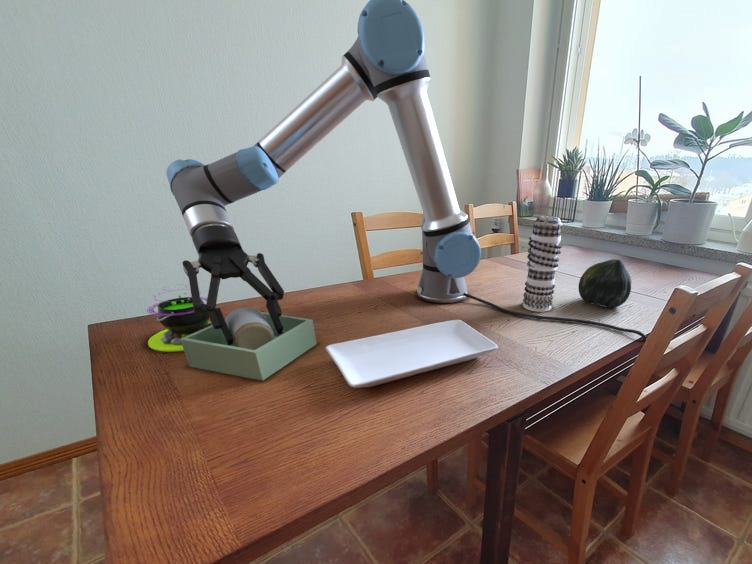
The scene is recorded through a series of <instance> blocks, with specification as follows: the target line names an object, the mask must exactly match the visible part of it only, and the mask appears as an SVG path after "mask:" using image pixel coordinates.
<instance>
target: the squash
mask: <svg viewBox="0 0 752 564" xmlns="http://www.w3.org/2000/svg"><path fill="white" fill-rule="evenodd" d="M631 292H632V277H631V275H630V273H629V270H628V269H627V268H626V266H625V264H624V262H623V261H622V260H621V259H619V258H614V259H608V260H605V261H602V262H597V263H594V264H593V265H591V266H589V267H588V268H586V270H585V271H584V272H583V273H582V275H581V276H580V278H579V282H578V294H579V296H580V297H581V299H582V300H583V301H584V303H586V304H590V305H591V304H593V305H596V306H597V305H599V306H601V307H605V308H607V309H615V308H617V307H620V306H623V304H624V303H625V302H626V301H628V299H629V297H630V295H631Z"/></svg>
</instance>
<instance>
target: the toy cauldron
mask: <svg viewBox="0 0 752 564" xmlns="http://www.w3.org/2000/svg"><path fill="white" fill-rule="evenodd" d="M178 285H179V286H180V284H177V286H178ZM181 286H184V287H182V288H181V289H174V290H173V289H172V290H171V289H166V288H168V287H169V285H168V286H165V287H162V292H161V293H159V295H160V294H161V295H162V294H165V293H166V292H168V293H169V292H175V291H182V290H186V291H188V290H189V291H191V289H189V288H187V287H188V285H186V284H182V283H181ZM163 291H164V292H163ZM199 293H201V291H200V290H199ZM184 295H187V292H185V293H184ZM207 298H208V297H203V296H201V297H200V300H201V304H205V302H204V301H206V303H207ZM153 300H155V301H157V302H156V303H155V304H153V305H151V306H149V307H147V309H146V312H147V314H149V315H153V316H155V315H156V316H157V318H156V321H157V322H159V323H160V324H161V325H162V327H164V328H165V329H163V330H161V331H159V332H157V333H155V334H154V335H152V336H151V337H150V338H149V339H148V341H147V345H148V348H150V349H151V350H154V351H158V352H162V353H163V352H166V353H177V352H179V353H180V352H184V349H183V346H182V344H181V341H180V339H182V338H184V337H186V336H188V335H191V334H193V333H195V332H198V331H200V330H202V329H204V328H207V327H209V326H211V325H212V323H211V321H210V318H209V316H208V315H207V314H205V313H200V314H196V313H195V312H194V308H193V302H192V296H184V297H182V295H178V296H177V297H176V298H171V299H167V300H160V301H158V299H156V295H154V296H153ZM156 307H157V311H155V308H156Z"/></svg>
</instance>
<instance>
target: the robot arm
mask: <svg viewBox="0 0 752 564" xmlns="http://www.w3.org/2000/svg"><path fill="white" fill-rule="evenodd" d="M357 35H358V36H357V38H356V39H355V41H354V43H353V44H352V46H351V47H350V48H349V49H348V51H346V52H345V53H344V54H343V55H342V56H341V65H340V66H339V67H338V68H337V69H336V70H335V71H334V72H332V73H331V74H330V75H329V76H328V77H327V78H326V79H325V80H324V81H322V82H321V84H319V85H318V86H317V87H316V88H315V89H314V90H313V91H312V92H311V93H310V94H308V95H307V96H306V97H305V98H304V99H303V100H302V101H301V102H300V103H298V105H296V106H295V107H294V108H293V109H292V110H291V111H290V112H289V113H287V115H286V116H284V117H283V118H282V119H281V120H280V121H279V122H278V123H277V124H276V125H274V126H273V127H272V128H271V129H270V130H269V131H268V132H267V133H266V134H265V135H263V137H261V139H259V140H258V142H256V143H255V144H254V145H251V146H250V147H245V148H243V149H242V148H241V149H239V150H238V151H236V152H234V153H231V154H229V155H227V156H224V157H222V158H220V159H218V160H216V161H213V162H211V163H207V164H204V163H203V162H201V161H198V160H196V159H192V158H187V159H180V158H179V159H176V160H174V161H172V162H170V164H169V165H168V166H167V168H166V178H167V181H168V183H169V188H170V192H171V193H172V195H173V197H174V199H175V201H176V204H177V206H178V209H179V210H180V212H181V215H182V218H183V220H184V223H185V225H186V228H187V230H188V232H189V236H190V237H191V240H192V243H193V246H194V248H195V250H196V253H197V256H198V258H197V260H195V261H190V260H183V261H182V268H183V272H184V273H185V275H186V276H187V278H188V281H189V288H190V289H191V290H190V289H189V290H190V294H191V295H190V297H192V302H193V308H194V312H195V313H196V314H200V313H205V314H207V315H208V316H209V322H211V323H212V326H213V328H214V329H220V328H221V330H222V332H223V334H224V337H225V339H226V342H227V344H228V345H233V339H232V336H231V334H230V332H229V329H228V327H227V324H226V322H225V317H224V315H223V313H222V310H221V308H220V307H217V301H218V296H219V290H220V289H219V288H220V285H221V280H227V279H230V278H232V279H233V278H234V279H237V278H240V279H241V280H242V281H243V282H246V283H247V284H248V285H249V286H250V287H251V288H252V289H253V290H255V292H256V293H258V294H259V295H260V296H261V297H262V298H263V299H264V300H265V301H266V304H265V307H266V309H267V313H269V314H270V317H271V319H272V321H273V324H274V326H275V328H276V331H277V333H278V334H281V333H282V331H283V326H282V324H281V321H280V319H279V317H280V316H281V315H283V314H282V313H283V310H282V307H281V306H280V304H279V301H281V300H283V299H284V294H285V290H284V289H283V286H281V284H280V283H279V281H278V280H277V278H276V276H275V275H274V274H273V273H272V271H271V269H270V268H269V266H268V265H267V263H266V261H265V256H264V254H263V253H261V252H259V253H258V252H257V254H256V255H249V254H248V253H247V252H246V251H244V249H243V247H242V245H241V243H240V240H239V238H238V235H237V232H236V231H235V228H234V226H233V224H232V221H231V219H230V217H229V214H228V211H227V210H226V206H228V205H230V204H233V203H235V202H237V201H240V200H242V199H245V198H247V197H250V196H252V195H254V194H257V193H260V192H261V191H266V190H268V189H270V188H272V187H273V186H275V185H277V184H278V183H279V179H280V178H281V177H282V176H283V175H284V174H286V172H288V170H290V168H292V167H293V166H294V165H295V164H296V163H297V162H298V161H300V160H301V159H302V158H303V157H304V156H306V155H307V153H309V152H310V151H311V150H312V149H313V148H314V147H315V146H316V145H317V144H319V143H320V142H321V141H322V140H323V139H324V138H325V137H327V136H328V135H329V134H330V133H331V132H332V131H333V130H334V129H335V128H336V127H338V126H339V125H340V124H341V123H342V122H343V121H344V120H346V119H347V118H348V117H349V116H350V115H351V114H353V112H355V111H356V110H357V109H358V108H359V107H360V106H361V105H362V104H363V103H365V102H366V101H369V102H370V101H371V102H374V101H375V100H376V99H377V98H378V99H379V100H381V101H382V102H383V103H385V104H386V105H387V106H388V110H389V113H390V116H391V119H392V122H393V126H394V129H395V131H396V133H397V138H398V141H399V144H400V146H401V150H402V152H403V156H404V159H405V161H406V165H407V168H408V170H409V173H410V177H411V179H412V183H413V186H414V188H415V191H416V194H417V198H418V201H419V203H420V207H421V209H422V212H423V215H424V216H423V218H422V220H421V227H420V228H421V240H422V241H421V242H422V244H421V245H422V246H421V247H422V270H421V271H422V272H421V275H420V278H419V281H418V285H417V290H416V292H417V293H416V295H417V297H418V298H419V299H421V300H423V301H424V302H429V303H435V304H452V303H458V302H462V301H465V300H466V299H467V298H470V299H472V300H474V301H477V302H480V303H482V304H485V305H487V306H490V307H491V308H494V309H496V310H499V311H501V312H504V313H507V314H510V315H514V316H519V317H525V318H531V319H537V320H550V321H561V322H570V323H571V322H572V323H580V324H587V325H594V326H600V327H605V328H608V329H612V330H616V331H619V332H624V333H631V334H635V335H638V336H640V337H641V338H642V339H643V340H644V341H645V340H646V338H648V336H647V335H646V334H644V333H643V332H641V331H639V330H636V329H631V328H625V327H620V326H615V325H612V324H608V323H603V322H599V321H595V320H594V321H593V320H587V319H579V318H568V317H557V316H547V315H536V314H530V313H525V312H518V311H514V310H511V309H507V308H505V307H501V306H500V305H497V304H494V303H492V302H490V301H488V300H484V299H482V298H480V297H477V296H474V295H471V294H469V293H468V287H467V283H466V280H465V277H467V276H469V275H470V274H472V273H473V272H474V271H475V270H476V269H477V268H478V266H479V264H480V261H481V258H482V249H481V248H482V247H481V245H480V242H479V241H478V239H477V238H476V236H475V235H474V233H473V230H472V226H471V223H470V220H469V215H468V213H466V212H464V211H463V210H461V209H460V206H459V203H458V200H457V199H458V198H457V195H456V192H455V189H454V185H453V181H452V177H451V174H450V170H449V167H448V163H447V159H446V156H445V152H444V148H443V145H442V141H441V138H440V135H439V131H438V127H437V124H436V120H435V116H434V113H433V109H432V106H431V101H430V98H429V95H428V89H429V86H430V83H431V81H432V77H431V74H430V71H429V67H428V63H427V60H426V56H425V47H426V46H425V45H426V44H425V42H426V41H425V33H424V28H423V24H422V21H421V19H420V17H419V16H418V13H417V12H416V10H415V9H414V8H413V7H412V5H410V3H409V2H406V0H369V1H368V2H367V3H366V5H365V6H364V7H363V8H362V10H361V11H360V14H359V17H358V22H357ZM249 263H251V264H252V265H253V266H254V267H255V268H257V271H258V272H259V274H260V276H261V277H262V278H263V280H264V281H265V283H266V284H267V285H266V284H265V283H263V281H262V280H260V278H258V276H256V274H254V273H253V272H252V271H251V268H249V267H248V265H249ZM200 269H203V270H204V271H206V272H207V273H209V274H210V281H209V288H208V293H207V297H206V298H207V302H206V303H204V304H201V300H200V298H201V293H200V292H199V291H200V288H199V282H198V274H199V273H200Z"/></svg>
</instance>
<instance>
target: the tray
mask: <svg viewBox="0 0 752 564" xmlns="http://www.w3.org/2000/svg"><path fill="white" fill-rule="evenodd" d="M498 349H499V346H498V344H497V343H495V342H493V341H492V340H491V339H489V338H488V337H486V336H484V334H482V333H480V332H479V331H477V329H475V328H473V327H472V326H470V325H469V324H467V323H466V322H465V321H463V320H461V319H451V320H446V321H440V322H435V323H430V324H425V325H420V326H416V327H411V328H406V329H401V330H396V331H391V332H386V333H382V334H377V335H372V336H367V337H363V338H357V339H352V340H348V341H344V342H336V343H332V344H329V345H326V346H325V350H326V352H327V354H328V355H329V356H330V358H331V359H332V361H333V362H334V364H335V365H336V367H337V368H338V370H339V371H340V373H341V375H342V376H343V378H344V380H345V381H346V383H347V384H348V386H349V387H351V388H354V389H355V388H356V389H360V388H372V387H376V386H379V385H383V384H387V383H391V382H394V381H398V380H401V379H405V378H408V377H413V376H415V375H419V374H423V373H427V372H430V371H435V370H438V369H442V368H445V367H450V366H453V365H457V364H460V363H465V362H468V361H473V360H475V359H478V358H479V357H482V356H486V355H488V354H490V353H492V352H495V351H497V350H498Z"/></svg>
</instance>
